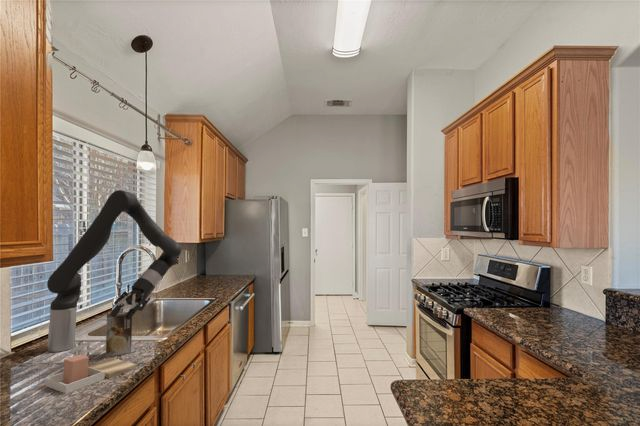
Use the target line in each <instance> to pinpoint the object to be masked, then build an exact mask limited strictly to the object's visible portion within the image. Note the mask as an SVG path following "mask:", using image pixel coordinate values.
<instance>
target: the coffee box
mask: <svg viewBox="0 0 640 426" xmlns="http://www.w3.org/2000/svg"><path fill="white" fill-rule="evenodd" d="M127 312H128V311H127ZM127 312H126V311H125V312H119V313H118V314H117V315H116V316H115V317H112V316H111V315H110V313H108V314H106V333H105V358H109V357H110V358H111V357H115V356H120V355H126V354H127V355H128V354H131V353H132V340H133V337H132V336H133V333H132V332H133V316H132V317H131V318H130V320H127V319H125V318H124V316H125V315H126V314H127Z"/></svg>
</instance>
